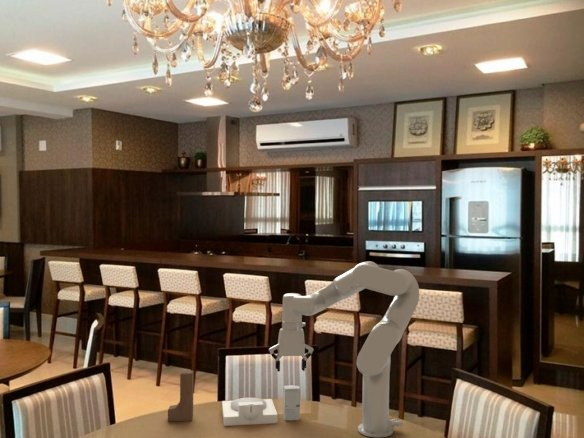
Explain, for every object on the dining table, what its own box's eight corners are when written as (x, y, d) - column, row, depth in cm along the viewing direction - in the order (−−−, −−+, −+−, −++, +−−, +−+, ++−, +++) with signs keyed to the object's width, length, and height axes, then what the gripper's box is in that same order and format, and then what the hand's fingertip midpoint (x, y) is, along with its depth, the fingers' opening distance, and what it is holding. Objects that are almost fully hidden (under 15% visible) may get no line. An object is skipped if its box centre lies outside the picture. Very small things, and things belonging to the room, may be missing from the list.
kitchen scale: (271, 406, 221) (271, 388, 221) (277, 423, 203) (277, 403, 203) (222, 409, 218) (222, 390, 218) (223, 426, 199) (223, 405, 199)
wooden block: (167, 421, 204) (168, 373, 204) (169, 417, 208) (170, 370, 208) (191, 421, 204) (192, 373, 204) (193, 417, 209) (193, 370, 209)
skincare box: (284, 420, 205) (284, 388, 205) (282, 416, 210) (283, 385, 210) (300, 420, 206) (300, 388, 206) (298, 416, 211) (298, 384, 211)
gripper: (312, 323, 213) (310, 367, 213) (268, 324, 211) (267, 368, 211) (315, 327, 206) (314, 372, 206) (270, 328, 203) (269, 373, 203)
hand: (290, 370), depth 208 cm, fingers open, 9 cm apart
